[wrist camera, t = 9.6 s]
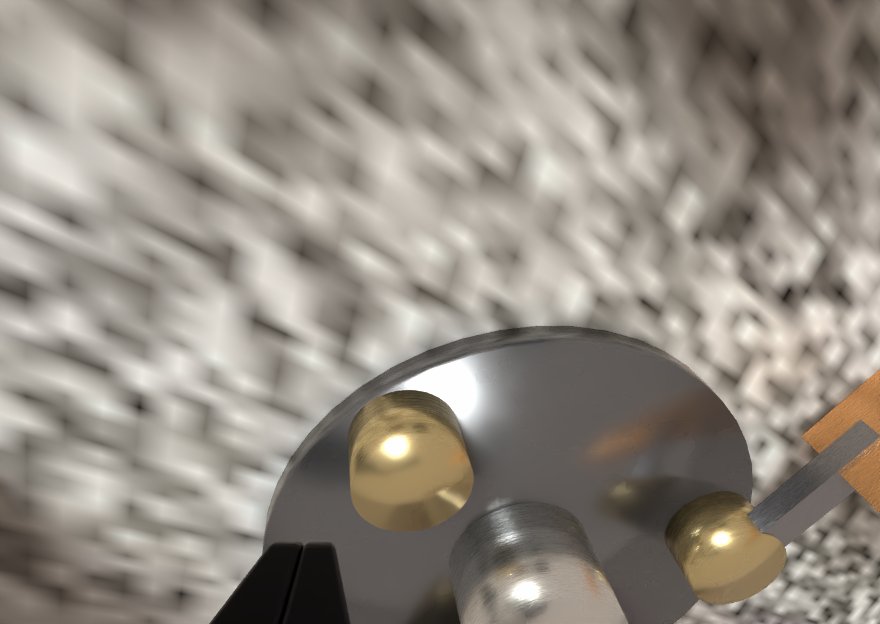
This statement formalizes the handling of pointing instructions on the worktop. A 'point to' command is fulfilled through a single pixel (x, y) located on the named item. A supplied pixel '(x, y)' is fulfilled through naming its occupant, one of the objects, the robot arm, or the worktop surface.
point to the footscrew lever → (779, 506)
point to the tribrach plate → (513, 481)
